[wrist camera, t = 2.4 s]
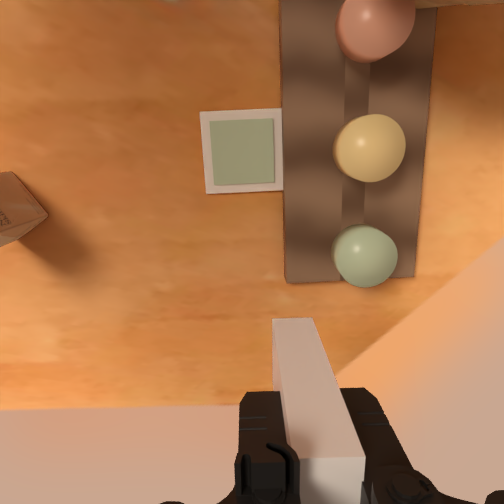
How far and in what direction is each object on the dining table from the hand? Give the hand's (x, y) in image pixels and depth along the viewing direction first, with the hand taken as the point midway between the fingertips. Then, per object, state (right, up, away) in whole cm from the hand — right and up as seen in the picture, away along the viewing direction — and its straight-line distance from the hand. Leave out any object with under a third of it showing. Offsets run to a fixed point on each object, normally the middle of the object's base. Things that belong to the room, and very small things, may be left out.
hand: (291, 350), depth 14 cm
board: (+7, +13, +19) cm, 24 cm away
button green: (+8, +4, +20) cm, 22 cm away
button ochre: (+7, +13, +17) cm, 23 cm away
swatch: (-2, +13, +19) cm, 23 cm away
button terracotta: (+7, +21, +15) cm, 26 cm away
